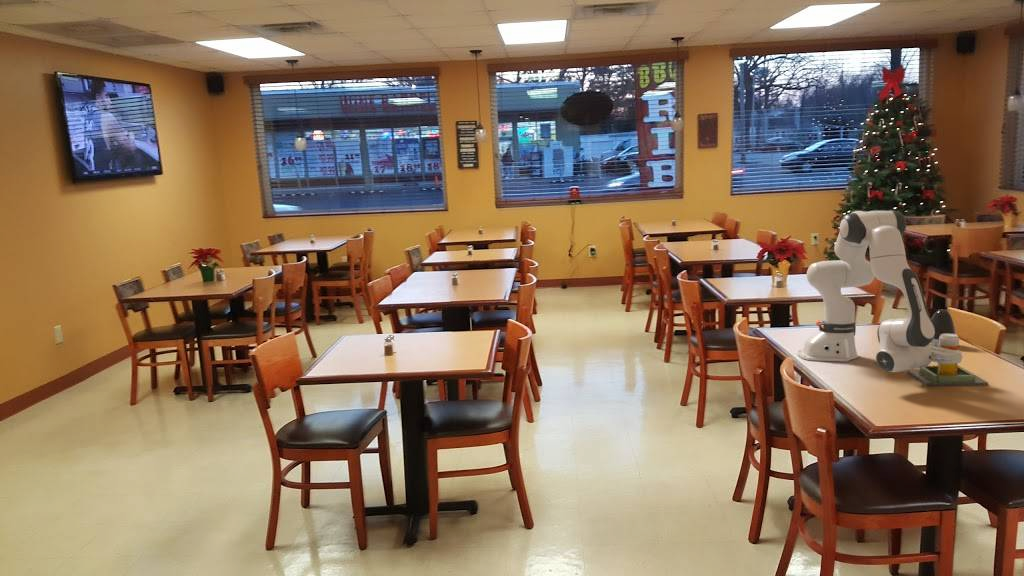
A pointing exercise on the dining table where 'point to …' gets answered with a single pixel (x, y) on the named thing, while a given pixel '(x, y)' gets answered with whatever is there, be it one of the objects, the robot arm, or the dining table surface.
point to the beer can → (950, 343)
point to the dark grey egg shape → (942, 325)
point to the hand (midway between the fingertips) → (945, 349)
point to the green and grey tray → (946, 377)
